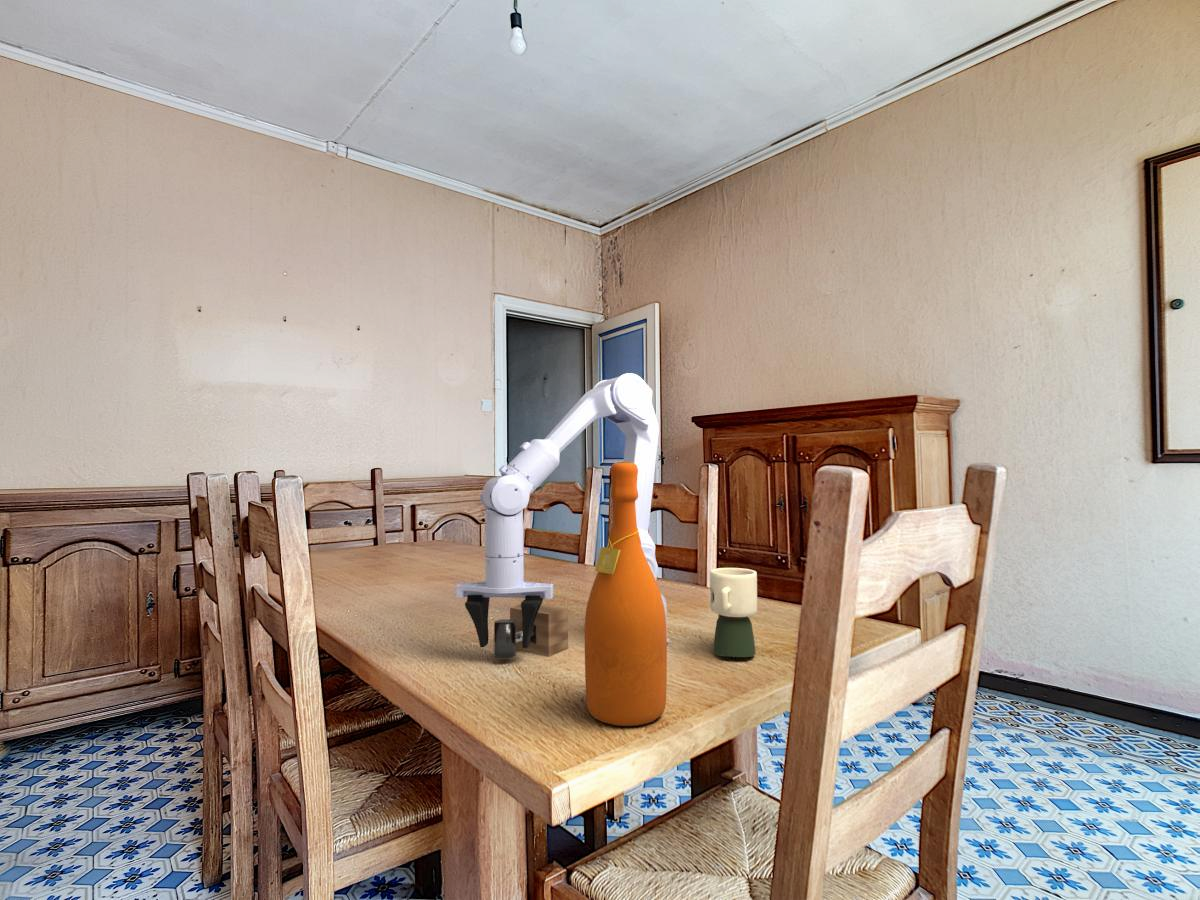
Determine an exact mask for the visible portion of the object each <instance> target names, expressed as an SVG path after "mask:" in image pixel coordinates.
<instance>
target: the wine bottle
mask: <svg viewBox="0 0 1200 900" xmlns="http://www.w3.org/2000/svg"><path fill="white" fill-rule="evenodd" d="M609 469H610V479H611V491H610V498H611V500H612V501H613V515H612V525H611V530H610V533H609V535H608V539H609V542H608V541H607V544H608V543H609V546H608V545H607V546H608V548H607V546H606V547H605V546H601V547H600V550H599V554H598V558H597V562H596V567H595V569H594V570H595V572H597V574H596V576H595V578H594V581H593V583H592V587H591V589H590V593H589V597H588V599H587V603H586V608H585V609H586V610H585V616H584V674H585V675H584V677H585V697H586V698H585V699H586V707H587V710H588V712H589V714H590V715H591V716H592V717H593V718H595V719H596V720H598V721H600V722H602V723H605V724H608V725H613V726H620V727H621V726H622V727H630V726H631V727H632V726H642V725H646V724H649V723H652V722H654V721H655V720H657V719H658V718H660V717H661V716H662V715H663V713H664V712H665V709H666V703H667V683H668V682H667V679H668V678H667V675H668V674H667V673H668V669H667V668H668V664H667V663H668V657H667V656H668V650H667V649H668V648H667V647H668V643H667V639H668V628H667V629H666V615H665V609H664V605H663V601H662V597H661V594H662V593H661V591H660V588H659V586H658V583H657V579H656V580H655V578H654V575H653V573H652V571H651V568H650V566H649V564H648V562H647V559H646V557H645V555H644V552H643V550H642V547H641V540H640V536H639V532H638V528H637V522H636V509H635V501H636V500H637V498H638V491H637V475H638V467H637V465H636V464H634V463H632V462H623V461H617V462H614V463H613V464H612V465H611V466H610V468H609Z"/></svg>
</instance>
